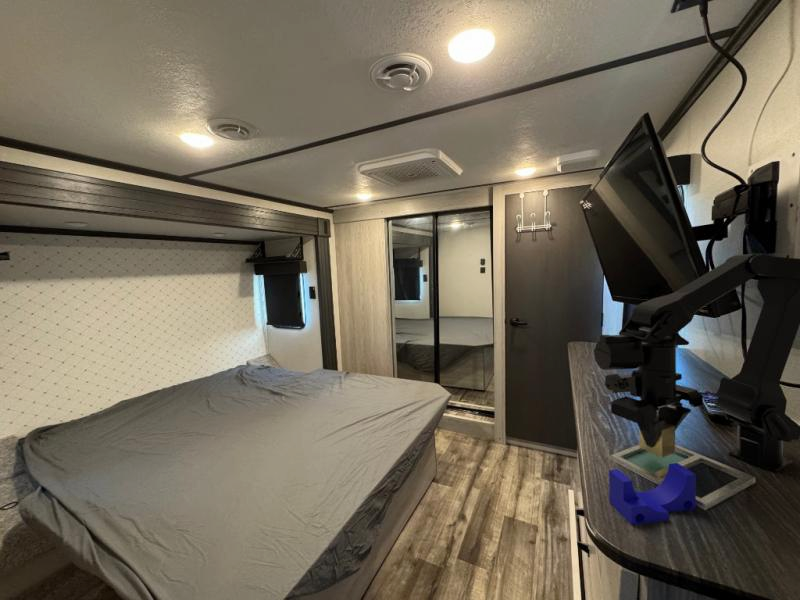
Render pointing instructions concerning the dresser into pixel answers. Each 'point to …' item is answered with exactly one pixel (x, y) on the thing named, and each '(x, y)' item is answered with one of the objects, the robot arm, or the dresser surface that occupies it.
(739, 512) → the dresser surface
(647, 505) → the cable clip
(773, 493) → the dresser surface
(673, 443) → the yellow rectangular block
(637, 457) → the grey divided frame
